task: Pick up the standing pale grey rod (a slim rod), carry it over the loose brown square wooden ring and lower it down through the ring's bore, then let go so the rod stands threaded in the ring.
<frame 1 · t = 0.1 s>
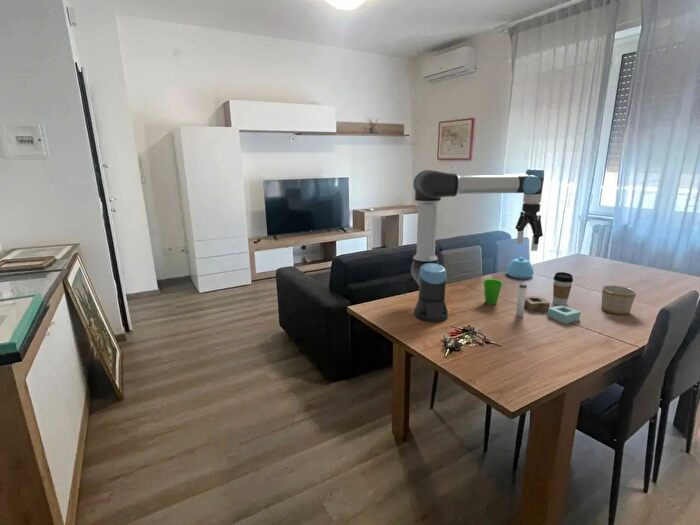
hand: (526, 247, 180), 28 cm above the table, fingers open, 13 cm apart
coffee cup: (559, 303, 184), on the table
brown square wooden ring: (534, 307, 179), on the table
pale grey rod: (519, 316, 170), on the table
sugar bowl: (519, 276, 229), on the table
planter: (614, 311, 175), on the table
cup: (490, 303, 186), on the table
teal square ring: (562, 318, 167), on the table
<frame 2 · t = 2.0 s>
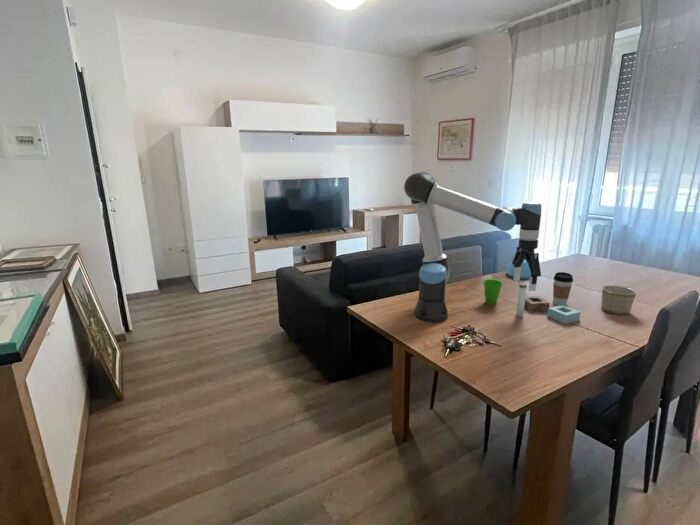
hand: (523, 285, 166), 15 cm above the table, fingers open, 13 cm apart
nothing on the table moved.
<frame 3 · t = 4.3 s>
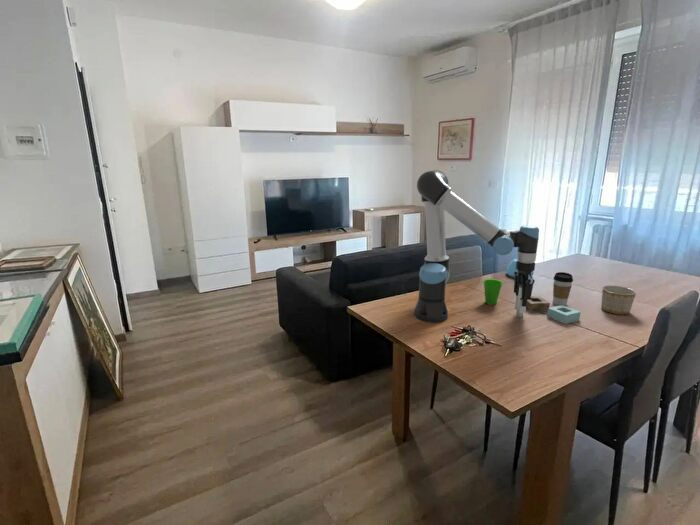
hand: (520, 310, 169), 3 cm above the table, fingers closed on pale grey rod, 3 cm apart
pale grey rod: (519, 315, 170), on the table, touching gripper
everything else where it was.
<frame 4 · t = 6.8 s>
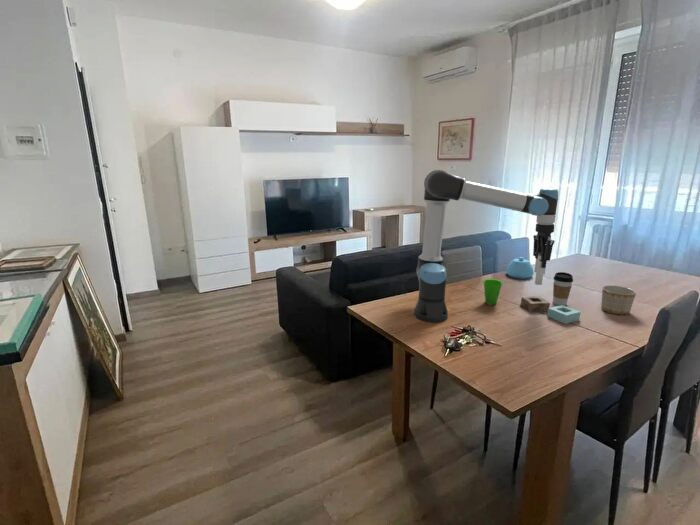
hand: (539, 273, 175), 17 cm above the table, fingers closed on pale grey rod, 2 cm apart
pale grey rod: (538, 283, 176), point 12 cm above the table, touching gripper
everything else where it was.
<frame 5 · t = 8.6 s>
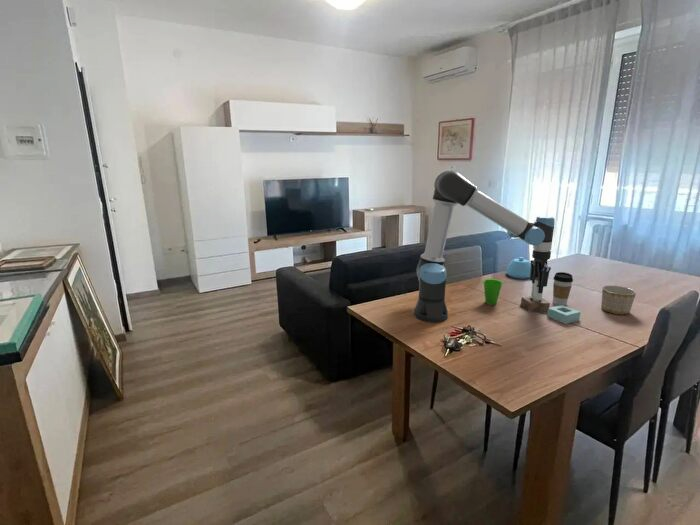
hand: (536, 297, 178), 5 cm above the table, fingers closed on pale grey rod, 3 cm apart
pale grey rod: (534, 307, 179), on the table, touching gripper
everything else where it was.
when the fingers open (5 cm above the table, at t = 9.5 s): pale grey rod stays where it is, on the table.
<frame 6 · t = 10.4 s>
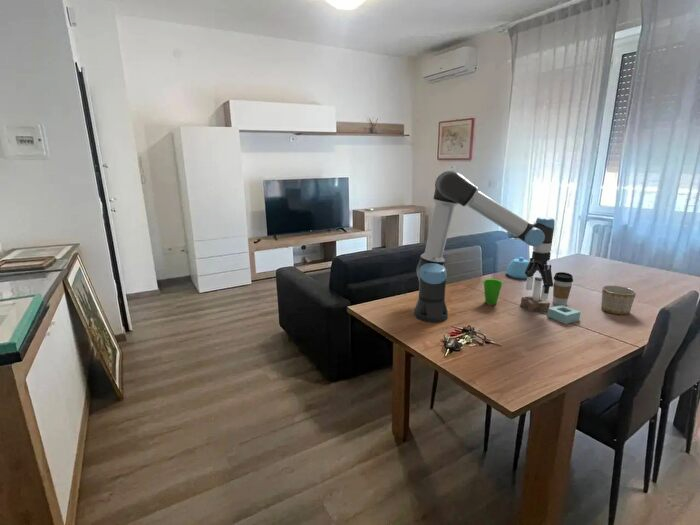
hand: (536, 294, 178), 7 cm above the table, fingers open, 13 cm apart
pale grey rod: (534, 307, 179), on the table
everything else where it was.
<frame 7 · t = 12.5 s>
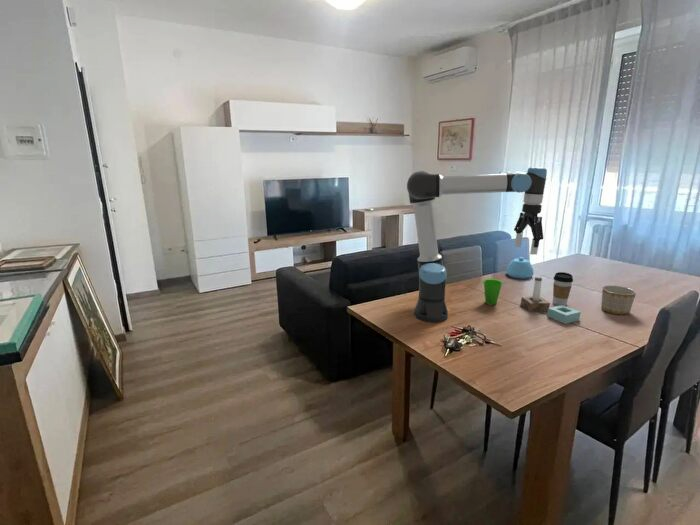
hand: (525, 250, 170), 29 cm above the table, fingers open, 13 cm apart
nothing on the table moved.
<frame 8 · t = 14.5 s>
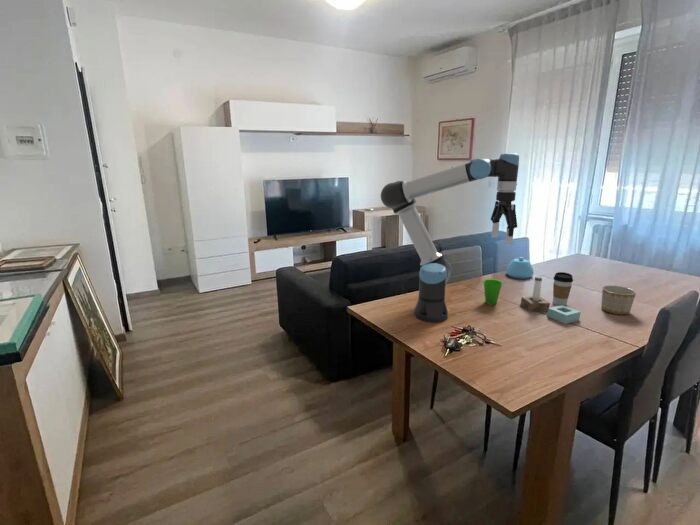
hand: (501, 240, 164), 35 cm above the table, fingers open, 13 cm apart
nothing on the table moved.
at the end: pale grey rod 0.1 cm off-centre on the brown square wooden ring, point 0.0 cm above the brown square wooden ring's base; pale grey rod tilted 0°; the gripper is holding nothing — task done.
